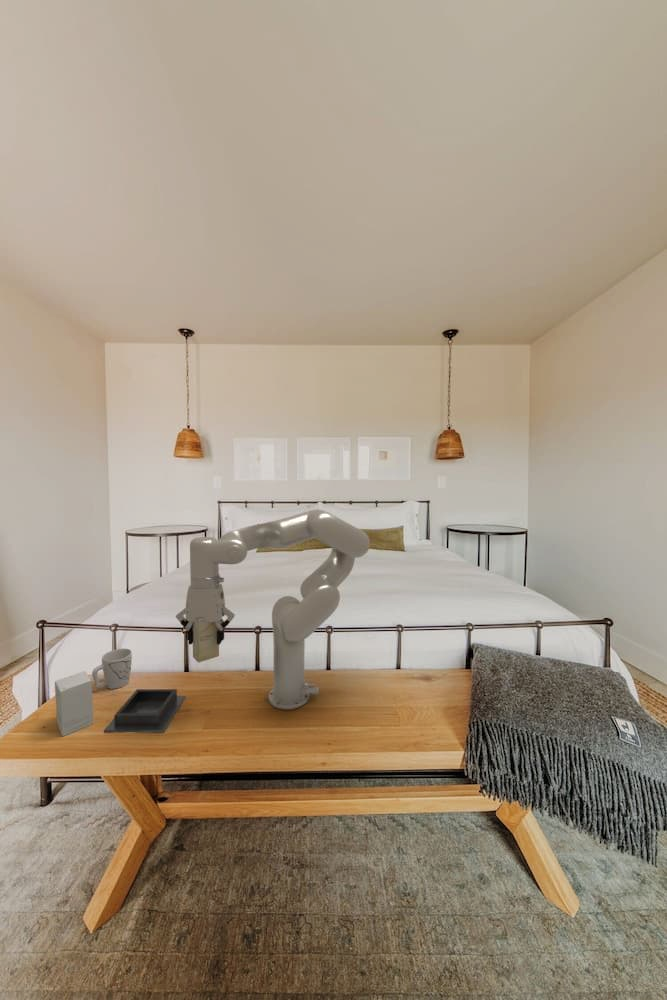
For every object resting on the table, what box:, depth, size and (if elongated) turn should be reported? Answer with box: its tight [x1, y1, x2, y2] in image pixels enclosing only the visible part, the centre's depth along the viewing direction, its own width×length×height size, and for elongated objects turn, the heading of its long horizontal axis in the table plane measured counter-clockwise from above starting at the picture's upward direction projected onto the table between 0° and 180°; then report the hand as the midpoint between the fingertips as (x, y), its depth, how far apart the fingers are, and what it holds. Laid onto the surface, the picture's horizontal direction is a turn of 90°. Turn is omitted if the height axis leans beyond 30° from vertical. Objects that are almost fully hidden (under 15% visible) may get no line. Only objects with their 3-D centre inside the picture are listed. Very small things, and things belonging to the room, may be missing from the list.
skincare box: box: [192, 619, 220, 663], centre depth 105 cm, size 6×4×12 cm
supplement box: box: [54, 671, 94, 737], centre depth 102 cm, size 7×7×13 cm
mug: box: [91, 648, 133, 690], centre depth 120 cm, size 11×8×10 cm
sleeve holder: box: [103, 688, 186, 734], centre depth 106 cm, size 16×15×4 cm
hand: (205, 641), depth 105 cm, fingers closed on skincare box, 7 cm apart
